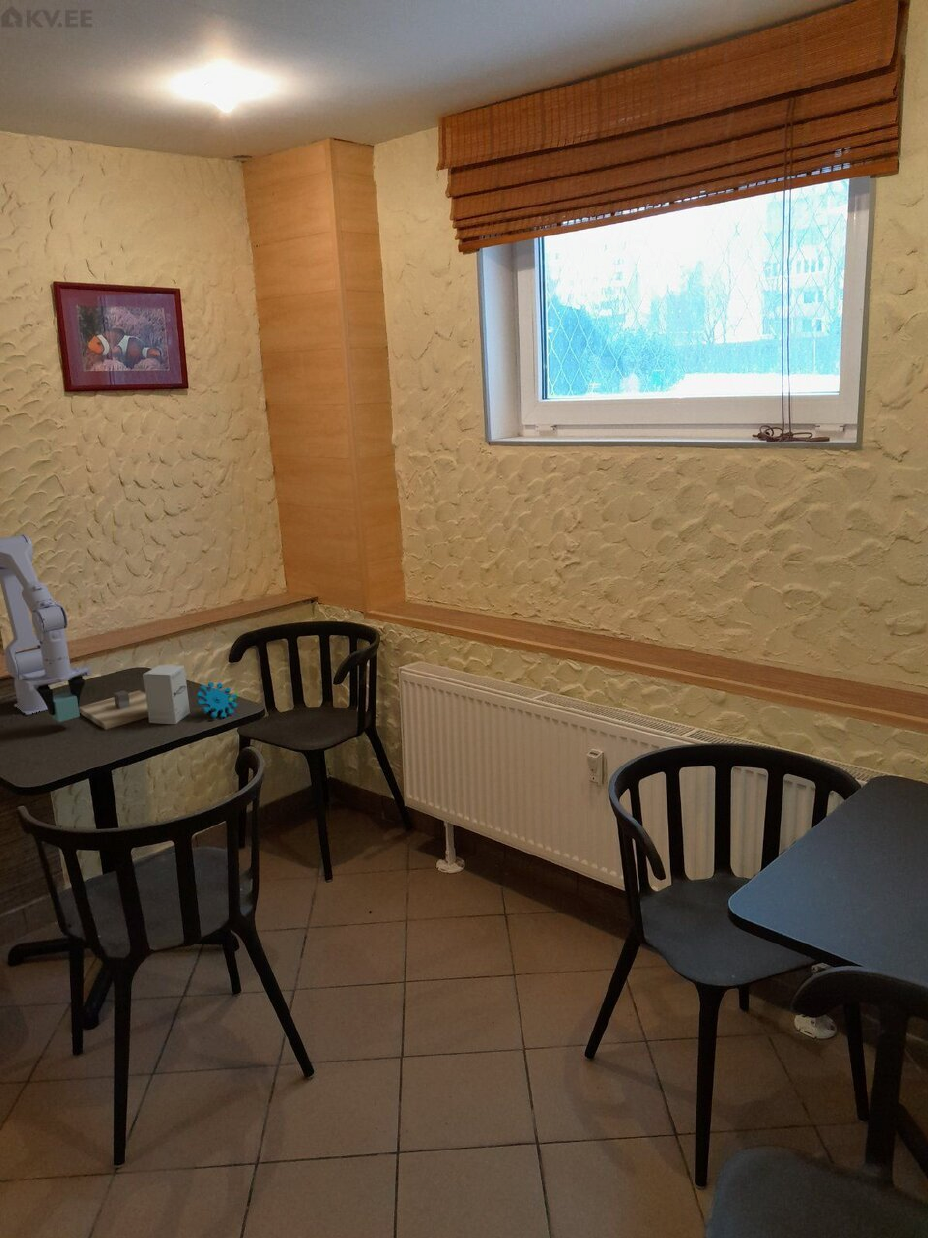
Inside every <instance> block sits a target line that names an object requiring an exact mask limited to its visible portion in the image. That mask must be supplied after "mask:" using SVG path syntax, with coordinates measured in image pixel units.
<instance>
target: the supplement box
mask: <svg viewBox="0 0 928 1238" xmlns="http://www.w3.org/2000/svg"><path fill="white" fill-rule="evenodd" d="M142 677H143V685H144V693H145V695H146V702H147V710H148V717H147V718H148V723H149V724H160V725H161V724H162V725H177V724H178V723H179V722H181V720H182V719H184V718H185V717H187V716H188V715H190V713H191V711H190V710H191V709H190V702H189V694H188V687H187V686H188V685H187V678H186V670H185V665H175V664H174V665H173V664H172V665H171V664H165V665H164V664H157V665H156V666H154V667H153V668H151V669H150V670H148V671H147V672H144V673H143V674H142Z"/></svg>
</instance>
